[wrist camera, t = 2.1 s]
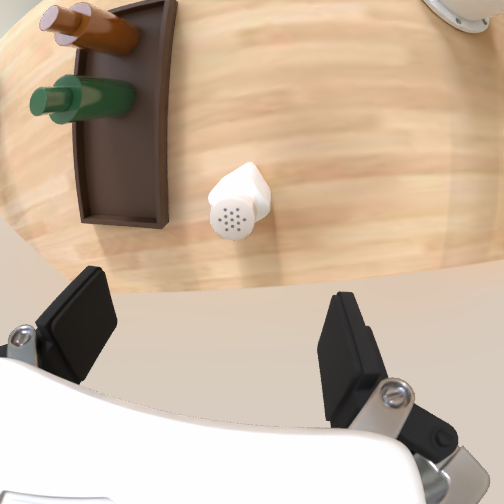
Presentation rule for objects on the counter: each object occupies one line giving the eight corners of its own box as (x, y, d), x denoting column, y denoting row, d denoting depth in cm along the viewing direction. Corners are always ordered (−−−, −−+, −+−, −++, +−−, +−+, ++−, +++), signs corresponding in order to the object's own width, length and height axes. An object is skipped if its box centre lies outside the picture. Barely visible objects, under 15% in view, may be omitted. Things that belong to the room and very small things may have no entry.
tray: (91, 23, 18) (81, 20, 16) (177, 1, 18) (171, -5, 16) (90, 216, 30) (81, 223, 28) (168, 221, 29) (162, 229, 28)
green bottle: (103, 83, 22) (23, 82, 11) (136, 77, 21) (58, 66, 11) (102, 119, 24) (22, 133, 13) (134, 115, 23) (55, 124, 13)
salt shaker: (218, 179, 27) (192, 210, 18) (252, 159, 26) (240, 180, 17) (240, 211, 28) (224, 255, 20) (273, 192, 27) (272, 229, 19)
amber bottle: (109, 28, 18) (36, 6, 8) (142, 20, 18) (74, -14, 8) (105, 60, 20) (27, 50, 10) (138, 53, 20) (63, 31, 10)
